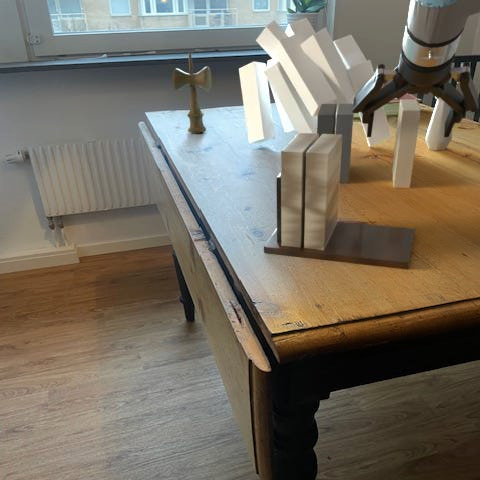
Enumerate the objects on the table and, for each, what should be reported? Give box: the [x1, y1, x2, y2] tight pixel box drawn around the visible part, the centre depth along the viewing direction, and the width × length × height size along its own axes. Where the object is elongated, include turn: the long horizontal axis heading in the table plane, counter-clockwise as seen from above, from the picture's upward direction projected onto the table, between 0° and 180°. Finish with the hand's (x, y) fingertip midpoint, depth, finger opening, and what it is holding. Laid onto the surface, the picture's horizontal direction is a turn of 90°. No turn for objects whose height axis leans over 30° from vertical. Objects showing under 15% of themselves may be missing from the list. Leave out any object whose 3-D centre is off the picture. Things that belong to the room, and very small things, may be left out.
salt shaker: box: [425, 96, 453, 152], centre depth 113 cm, size 6×6×13 cm
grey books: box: [316, 104, 354, 185], centre depth 101 cm, size 6×10×13 cm, turn 168°
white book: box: [391, 99, 421, 189], centre depth 96 cm, size 3×10×14 cm, turn 168°
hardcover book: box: [353, 93, 423, 120], centre depth 149 cm, size 12×21×4 cm, turn 95°
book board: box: [263, 132, 416, 270], centre depth 73 cm, size 21×12×15 cm, turn 70°
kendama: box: [172, 52, 212, 134], centre depth 136 cm, size 6×10×20 cm, turn 80°
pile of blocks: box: [238, 17, 393, 147], centre depth 123 cm, size 35×30×35 cm
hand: (407, 130), depth 92 cm, fingers open, 13 cm apart
